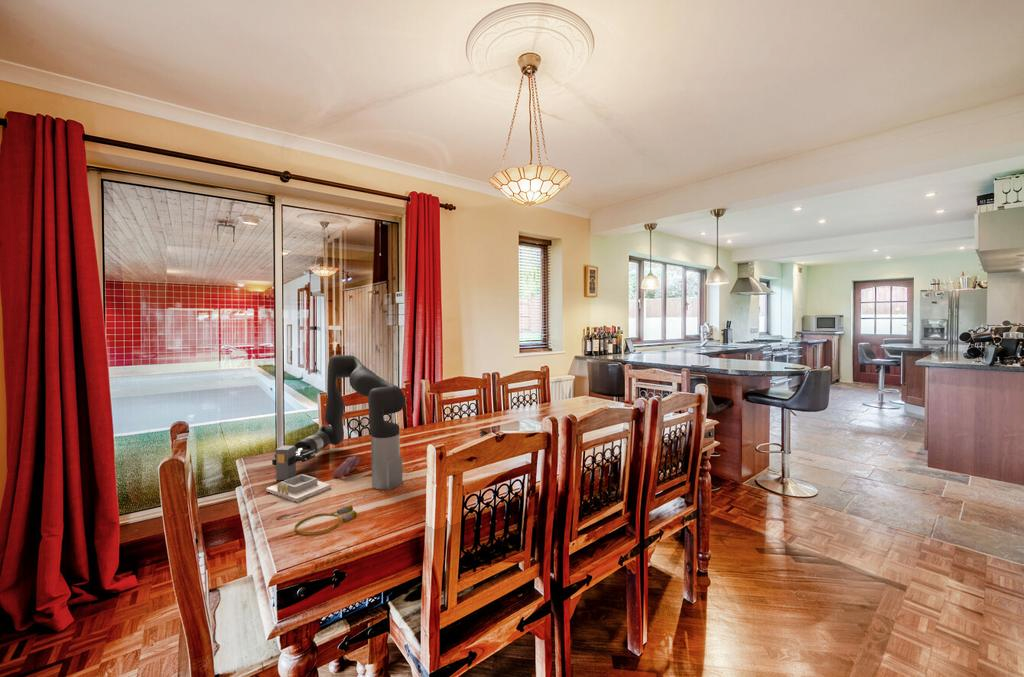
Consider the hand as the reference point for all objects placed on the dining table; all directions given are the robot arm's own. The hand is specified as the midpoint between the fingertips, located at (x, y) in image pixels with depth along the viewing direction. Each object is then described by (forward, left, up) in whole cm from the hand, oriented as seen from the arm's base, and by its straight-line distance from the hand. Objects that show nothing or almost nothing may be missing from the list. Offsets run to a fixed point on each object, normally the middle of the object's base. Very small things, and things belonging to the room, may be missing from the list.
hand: (281, 462), depth 141 cm
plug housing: (+1, -2, -7) cm, 7 cm away
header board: (-12, +2, -7) cm, 14 cm away
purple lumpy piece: (-14, -16, -7) cm, 22 cm away
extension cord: (-39, +11, -7) cm, 41 cm away
